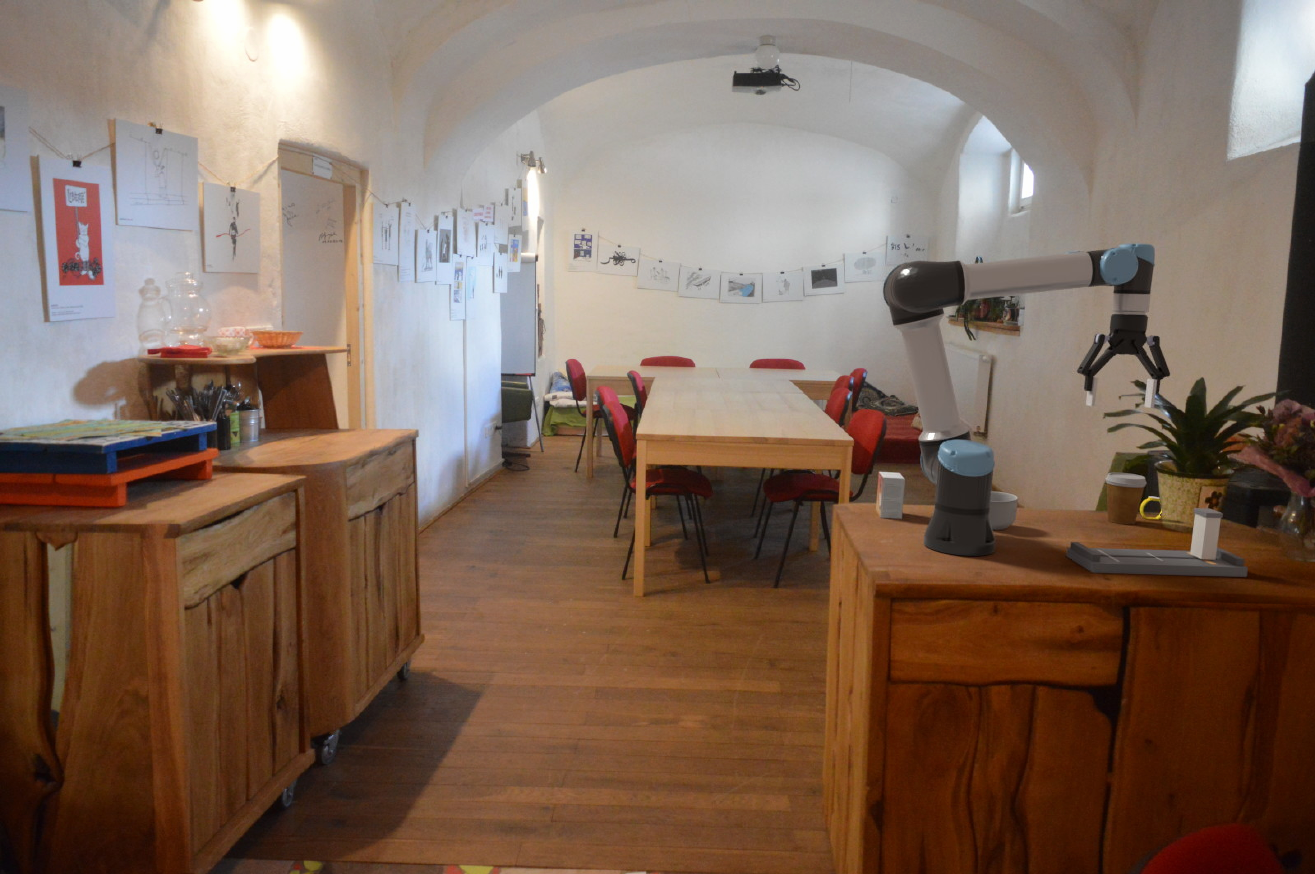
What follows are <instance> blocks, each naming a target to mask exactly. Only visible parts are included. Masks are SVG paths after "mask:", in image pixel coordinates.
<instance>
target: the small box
mask: <svg viewBox="0 0 1315 874" xmlns="http://www.w3.org/2000/svg"><path fill="white" fill-rule="evenodd" d="M877 478H878V479H877V490H876V505H875V511H876V513H877V514H878V516H879V518H880V519H895V520H902V519H903V511H904V497H905V496H904V495H905V486H906V485H905V484H906V479H905V478H906V477H905V478H904V476H903V475H902V474H901V472H891V471H890V472H889V471H878V477H877Z"/></svg>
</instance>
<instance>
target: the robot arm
mask: <svg viewBox="0 0 1315 874" xmlns="http://www.w3.org/2000/svg"><path fill="white" fill-rule="evenodd" d="M1155 251H1156V250H1155V247H1154V245H1152V244H1151V243H1122V244H1120V245H1119V246H1118V247H1112V248H1107V249H1098V250H1097V249H1096V250H1090V251H1080V250H1078V251H1067V252H1066V253H1060V254H1052V255H1042V256H1033V257H1024V258H1014V259H1006V260H995V261H994V260H993V261H987V262H986V261H985V262H976V263H969V264H965V263H964V262H963V261H962V260H953V261H949V260H948V261H931V260H914V261H909V262H903V263H901V264H898V265H897V266H894V268H892V269H891V270H890V271H889V272H888V274H887V276H886V277H885V280H884V281H883V286H882V295H883V299H884V301H885V303H886V305H887V306H888V308H889V312H890V318H891V321H892V326H893V328H895V329H897V330H899V331H900V332H901V334H902V335H901V336H902V341H903V343H904V349H905V352H906V353H905V354H906V358H907V363H908V367H909V371H910V376H911V382H912V385H913V390H914V395H915V399H916V404H917V407H918V413H919V416H920V417H919V418H920V420H921V421H920V422H921V426H922V432H921V433H920V435H919V436H918V439H917V440H918V443H919V448H920V452H921V454H920V458H919V459H920V467H921V469H922V472H923V475H924V476H925V477H926V478H927V479H928V480H929V482H931V484H934V485H935V498H934V510H933V513H932V515H931V518H930V521H929V522H928V525H927V527H926V529H925V532H924V537H923V544H924V546H925V547H927V548H928V549H931V550H934V551H936V552H940V553H945V554H949V555H955V556H966V557H967V556H969V557H979V556H981V557H982V556H987V555H991V554H994V553H995V551H996V550H995V549H996V539H995V535H994V529H992V526H991V522H990V518H989V510H990V500H991V491H992V487H993V478H994V477H993V476H994V468H995V453H994V451H993V448H992V447H990V446H989V445H987V444H985V443H982V442H978V441H975V440H972V437H971V433H970V428H969V427H968V426H966V425H965V424H963V422H961V418H960V414H959V408H958V403H957V401H956V395H955V392H954V386H953V381H952V377H951V373H950V367H949V363H948V359H947V353H946V349H945V344H944V340H943V334H942V329H941V325H940V323H941V320H942V319H943V317H944V315H945V312H944V309H945V308H949V307H956V306H957V307H958V306H963V305H965V303H966V302H967V301H972V300H978V299H980V300H981V299H988V298H989V299H990V298H997V297H1007V296H1008V297H1009V296H1014V295H1015V296H1016V295H1025V294H1035V293H1044V292H1045V293H1046V292H1052V291H1062V290H1073V289H1081V288H1090V287H1113V292H1112V293H1113V296H1112V304H1111V305H1112V306H1111V311H1112V312H1114V313H1112V314H1111V316H1110V323H1109V333H1108V335H1106V334H1104V333H1096V334H1095V335H1094V339H1093V343H1092V345H1091V346H1090V348H1089V350H1088V351H1087V352H1086V354H1085V357H1083V360H1082V361H1081V363H1080V365H1079V366H1078V368H1077V370H1076V372H1077V374H1079V375H1083V377H1084V384H1083V389H1084V391H1085V392H1086V401H1085V405H1086V406H1088V407H1095V406H1096V397H1097V389H1098V388H1097V387H1098V380H1099V379H1098V377H1095V376H1096V375H1097V374H1098V373H1099V372H1100V371H1101V370H1102V369H1103V368H1104V367H1105V366H1106V365H1107V364H1108V363H1109V362H1110V361H1111V359H1112V358H1114V357H1115V356H1117V355H1123V356H1124V355H1125V356H1126V355H1129V356H1135V357H1136V358H1137V359H1138V360H1139V362H1140V364H1141V365H1142V366H1143V368H1144V369H1145V370H1146V372H1147V373H1148V374H1149V376H1150V378H1147V380H1146V388H1145V398H1144V408H1149V409H1155V403H1156V401H1155V400H1156V394H1159V393H1160V388H1161V387H1160V386H1161V381H1163V379H1164V378H1167V377H1168V378H1169V377H1170V376H1171V372H1170V370H1169V366H1168V364H1167V362H1166V358H1165V356H1164V353H1163V351H1162V348H1161V345H1160V344H1161V343H1160V341H1161V337H1160V336H1159V335H1149V336H1147V334H1146V332H1147V330H1148V322H1149V316H1148V315H1147V313H1149V312H1150V303H1151V292H1152V290H1151V289H1152V283H1153V275H1154V269H1155V256H1156V254H1155ZM1107 343H1108V344H1109V346H1107V348H1106V349H1105V350H1104V352H1103V353H1102V354H1101V355H1100V356H1099V357H1098V359H1097V356H1098V355H1099V354H1100V352H1101V350H1102V348H1103V346H1104V345H1105V344H1107ZM1145 344H1147V346H1148V347H1149V350H1150V353H1151V357H1152V359H1153V361H1152V360H1151V358H1150V357H1149V355H1148V352H1147V351H1146V350H1145V348H1144V346H1145ZM1096 359H1097V360H1096ZM1095 360H1096V361H1095Z"/></svg>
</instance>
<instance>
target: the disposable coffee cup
mask: <svg viewBox="0 0 1315 874" xmlns="http://www.w3.org/2000/svg"><path fill="white" fill-rule="evenodd" d="M1104 479H1105V483H1106V499H1107V500H1106V503H1107V520H1108V522H1111V523H1114V524H1118V525H1119V524H1120V525H1135V524H1136V522H1137V517H1138V513H1139V510H1140V505H1141V503H1142V497H1143V494H1144V489H1145V487H1146V485H1147V483H1148V482H1147V480H1146V477H1145V476H1143V475H1139V474H1135V473H1127V472H1109V473H1107V475H1106V477H1105V478H1104Z"/></svg>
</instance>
